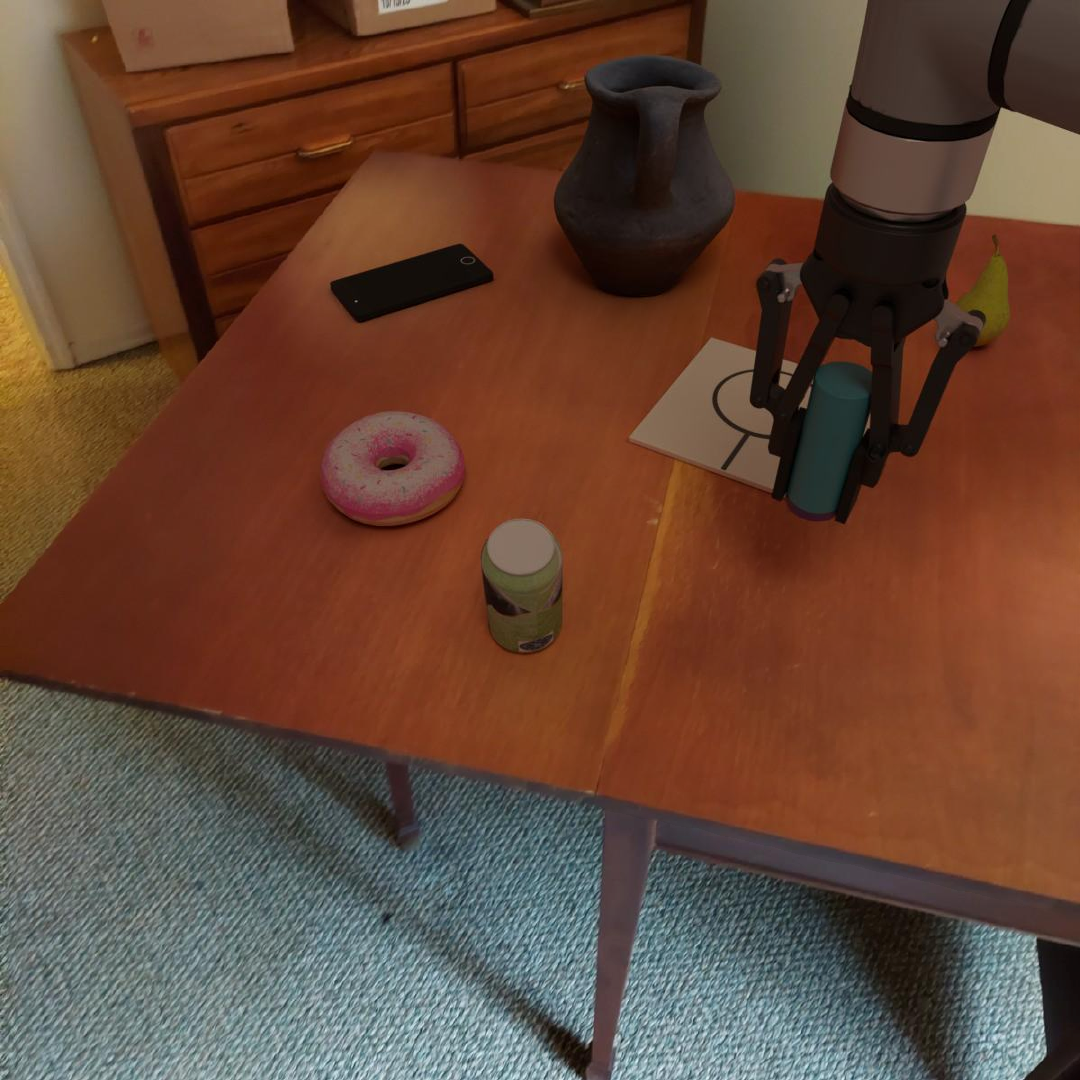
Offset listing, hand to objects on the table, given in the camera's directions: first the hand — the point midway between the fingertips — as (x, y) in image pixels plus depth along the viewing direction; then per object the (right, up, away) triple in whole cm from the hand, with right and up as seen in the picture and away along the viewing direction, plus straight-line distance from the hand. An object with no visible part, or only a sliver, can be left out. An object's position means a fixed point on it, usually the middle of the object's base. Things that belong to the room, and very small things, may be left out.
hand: (813, 499), depth 69 cm
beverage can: (-21, -11, +9) cm, 25 cm away
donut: (-34, +2, +22) cm, 40 cm away
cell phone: (-35, +28, +47) cm, 65 cm away
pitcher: (-8, +29, +47) cm, 56 cm away
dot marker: (0, 0, 0) cm, 0 cm away
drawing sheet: (+3, +9, +28) cm, 30 cm away
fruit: (+28, +19, +37) cm, 50 cm away
